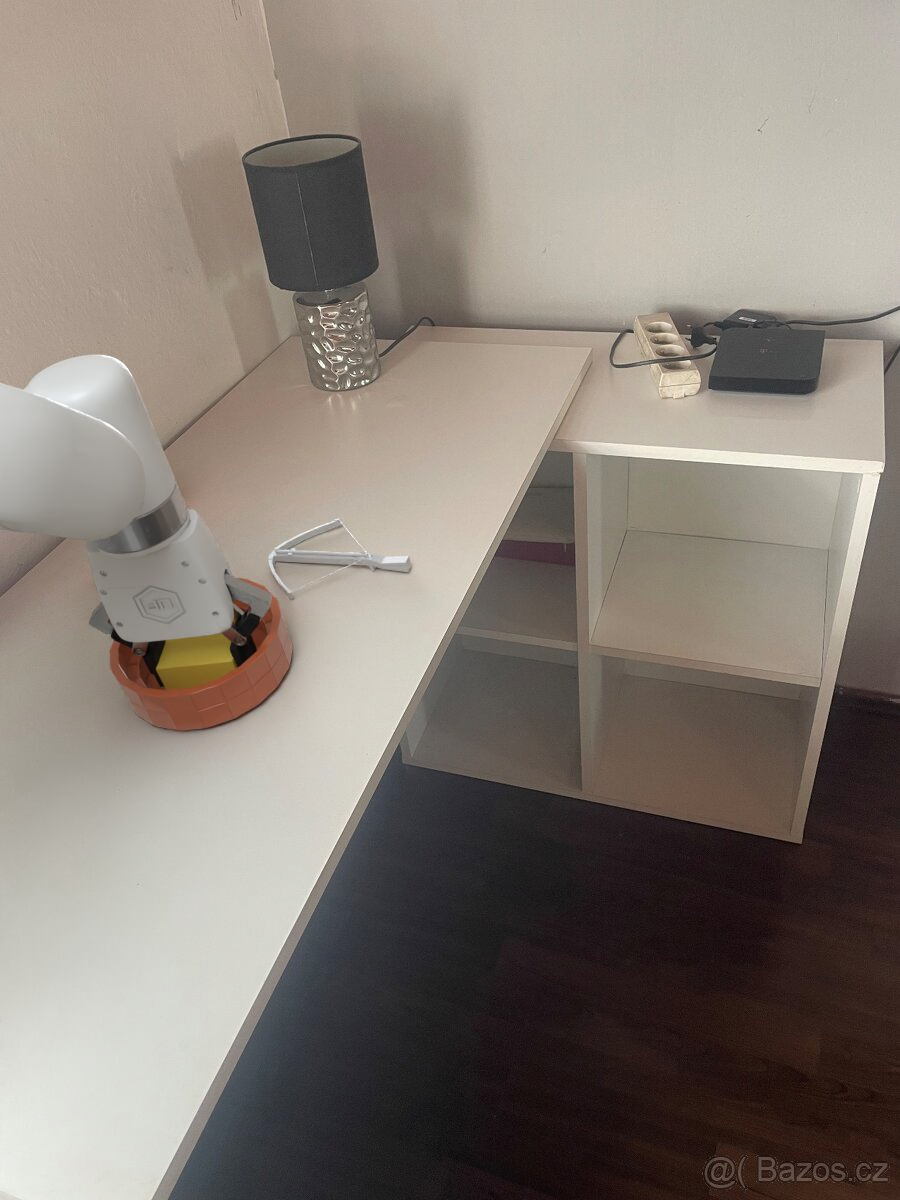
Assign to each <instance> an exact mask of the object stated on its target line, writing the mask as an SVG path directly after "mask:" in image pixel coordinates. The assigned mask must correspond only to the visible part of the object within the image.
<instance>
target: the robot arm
mask: <svg viewBox="0 0 900 1200" xmlns="http://www.w3.org/2000/svg"><path fill="white" fill-rule="evenodd" d="M151 419H152V418H151V416H150V414H149V412H148V409H147V406H146V404H145V403H144V399H143V397H142V395H141V392H140V389H139V387H138V385H137V383H136V381H135V378H134V376H133V375H132V372H131V371H130V370H129V368H128V367H127V366H126V365H125V363H123V362H122V361H120V360H119V359H117V358H115V357H113V356H110V355H106V354H100V353H99V354H98V353H96V354H94V353H93V354H85V355H79V356H74V357H69V358H66V359H63V360H60V361H58V362H56V363H54V364H51V365H50V366H48V367H46V368H43V369H42V370H40V371H39V372H38V373H36V374H35V375H34V376H33V377H32V378H31V379H30V381H29V383H28V384H27V385H26V387H24V388H19V387H16V386H13V385H9V384H7V383H3V382H0V530H2V531H10V532H18V533H29V534H37V535H44V536H50V537H51V536H52V537H53V536H54V537H57V538H58V537H59V538H64V539H72V540H78V541H86V542H85V550H86V555H87V559H88V563H89V567H90V571H91V574H92V575H91V576H92V578H93V581H94V584H95V587H96V590H97V592H98V593H97V594H98V595H99V598H100V600H101V601H100V603H99V604H98V605H97V606H96V607H95V609H94V610H93V611H92V613H91V615H90V618H89V620H88V625H89V626H91V628H94V629H95V630H98V631H99V632H101V633H103V634H105V635H109V636H110V638H111V639H112V640H113V641H114V640H115V641H117V642H119V643H121V644H123V645H125V646H128V647H130V648H132V652H133V654H134V655H136V656H142V657H143V659H144V661H145V663H146V665H147V667H148V669H149V671H150V673H151V674H154V676H155V678H156V680H157V682H158V684H159V686H160V687H165V686H164V684H163V682H162V680H161V678H160V677H159V675H158V673H157V671H156V667H157V665H158V663H159V660H160V657H161V654H162V651H163V648H164V645H165V643H166V642H165V640H171V639H180V638H189V637H198V636H207V635H214V634H219V633H222V634H223V635H224V636H225V637H226V638H228V639H229V640H230V641H231V645H230V652H231V654H232V657H233V658H234V660H235V662H236V665H237V667H239V666H241V665H242V664H243V663H244V662H245V661H246V660H247V659H249V658H250V657H251V656H252V655H253V654H254V653H255V652H256V651H257V648H256V646H255V643H254V641H253V638H252V636H251V634H252V633H253V631H254V630H255V629H256V628H257V627H258V625H259V622H260V621H261V619H262V618H263V617H264V615H265V614H266V612H267V611H268V609H269V608H270V605H271V600H272V594H273V593H272V592H271V591H270V592H271V593H272V594H271V593H270V592H268V591H265V590H263V589H261V588H258V587H256V586H254V585H252V584H249V583H247V582H245V581H242V580H240V579H238V578H239V577H235V576H234V574H233V571H232V569H231V567H230V565H229V563H228V561H227V559H226V557H225V555H224V553H223V551H222V549H221V547H220V546H219V544H218V542H217V540H216V538H215V537H214V535H213V533H212V532H211V531H210V529H209V527H208V526H207V524H206V523H205V522H204V520H203V519H202V517H201V516H200V515H199V513H197V511H196V510H195V509H191V508H188V507H187V504H186V502H185V499H184V497H183V495H182V492H181V489H180V486H179V484H178V483H177V482H178V481H177V480H176V478H175V474H174V472H173V469H171V465H170V463H169V460H168V458H167V456H166V453H165V451H164V448H163V446H162V444H161V441H160V439H159V437H158V434H157V432H156V429H155V427H154V425H153V421H152V420H151ZM235 600H238V601H241V602H243V603H245V604H248V605H249V606H250V607H249V608H248V609H247V610H246V611H245V613H244V612H243V611H242V610H241V609H239V608H238V607H237V606H236V605H235V604H234V603H232V602H233V601H235ZM232 622H234V623H235V625H234V624H233V623H232Z"/></svg>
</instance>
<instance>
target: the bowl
mask: <svg viewBox="0 0 900 1200" xmlns="http://www.w3.org/2000/svg"><path fill="white" fill-rule="evenodd" d="M237 578H238V579H240V580H242V581H245V582H247V583H249V584H252V585H254V586H256V587H258V588H261V589H263V590H265V591H268V592H270V593H271V594H272V600H271V605H270V608H269V609H268V611H267V612H266V614H265V615H264V617H263V618H262V619H261V621H260V622H259V625H258V627H257V628H256V629H255V630H254V631H253V633H252V634H251V636H252V638H253V641H254V643H255V646H256V648H257V651H256V652H255V653H254V654H253V655H252V656H251V657H250V658H249V659H247V660H246V661H245V662H244V663H243V664H242V665H241V666H239V667H238V668H236V669H234V670H232V671H231V672H229V673H227V674H225V675H223V676H222V677H220V678H218V679H216V680H213V681H210V682H207V683H204V684H201V685H198V686H195V687H192V688H183V689H173V690H166V688H165V687H160V686H159V684H158V682H157V680H156V678H155V676H154V674H151V673H150V671H149V669H148V667H147V665H146V663H145V661H144V659H143V657H142V656H136V655H134V654H133V652H132V648H130V647H128V646H125V645H123V644H121V643H119V642H117V641H115V640H113V641H112V644H111V646H110V649H109V669H110V671H111V672H112V674H113V676H114V678H115V680H116V681H117V684H118V685H119V687H120V688H121V691H122V693H123V694H124V696H125V697H126V699H127V701H128V703H129V705H130V706H131V708H132V710H134V711H133V712H134V713H135V715H136V716H137V717H139V718H141V719H142V720H144V721H145V722H147V723H149V724H151V725H153V726H154V727H157V728H163V729H168V730H173V731H191V730H201V729H208V728H210V727H214V726H217V725H220V724H223V723H225V722H229V721H232V720H234V719H237V718H238V717H240V716H242V715H244V714H246V713H247V712H248V711H251V709H254V708H255V707H257V706H258V705H260V704H261V703H262V702H263V701H264V700H265V699H266V698H267V697H269V696H270V695H271V694H272V693H273V692H274V691H275V690H276V688H278V686H279V685H280V683H281V682H282V680H283V678H284V677H285V676H286V673H287V672H288V670H289V669H290V666H291V660H292V655H293V650H294V645H293V642H292V638H291V635H290V632H289V629H288V626H287V623H286V620H285V617H284V615H283V612H282V609H281V606H280V603H279V600H278V598H277V597H276V596H275V595H274V594H273V593H272V592H271V590H269V589H268V588H267V587H266V586H265V585H263V584H261V583H259V582H256V581H254V580H251V579H249V578H244V577H237ZM232 603H234V604H235V605H236V606H237V607H238V608H239V609H241V610H242V611H243V612H244V613H245V611H246V610H247V609H248V608H249V607H250V606H249V605H248V604H245V603H243V602H241V601H238V600H235V601H233V602H232ZM232 623H233V624H234V625H235V623H234V622H232ZM165 641H166V640H165Z"/></svg>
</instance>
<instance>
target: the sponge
mask: <svg viewBox="0 0 900 1200" xmlns="http://www.w3.org/2000/svg"><path fill="white" fill-rule="evenodd" d="M165 642H166V643H165V645H164V648H163V651H162V654H161V657H160V660H159V663H158V665H157V667H156V671H157V673H158V675H159V677H160V678H161V680H162V682H163V684H164V686H165V688H166V690H173V689H183V688H192V687H195V686H198V685H201V684H204V683H207V682H210V681H213V680H216V679H218V678H220V677H222V676H223V675H225V674H227V673H229V672H231V671H232V670H234V669H236V668H238V667H237V665H236V662H235V660H234V658H233V657H232V654H231V652H230V645H231V641H230V640H229V639H228V638H226V637H225V636H224V635H223V634H222V633H219V634H214V635H207V636H198V637H189V638H180V639H171V640H166V641H165Z"/></svg>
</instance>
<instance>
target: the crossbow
mask: <svg viewBox="0 0 900 1200" xmlns="http://www.w3.org/2000/svg"><path fill="white" fill-rule="evenodd" d="M340 526H343V527H344V528H345V530H346V531H347V532H348V533H349V535H350V536H351V537H352V539H354V541H355V542H356V543H357V544H358V545H359V546H360V548H361V549H362V550H363V552H362V551H361V552H357V551H348V552H347V551H346V552H345V551H322V550H321V551H320V550H316V551H315V550H300V549H299V550H297V548H295V547H294V546H296V545H298V544H300V543H301V542H304V541H306V540H308V539H310V538H313V537H315V536H317V535H319V534H321V533H324V532H327V531H329V530H332V529H335V528H338V527H340ZM276 562H280V563H281V562H285V563H307V564H326V565H327V564H328V565H346V566H344V567H342V568H340V569H337V570H335V571H333V572H331V573H329V574H326V575H324V576H322V577H319V578H318V579H316V580H313V581H311V582H309V583H307V584H304V585H303V586H299V587H297V588H296V589H294V590H291V589H289V588H288V587H287V586H286V585H285V584H284V583H283V581H282V580H281V578H280V576H279V575H278V574H277V573H276V566H275V565H276ZM268 566H269V568H270V571H271V573H272V576H273V578H274V580H275V582H276V583H277V584H278V586H279V587H280V588H281V590H282V591H283V592H284V593H285V594H286V595H287V596H288V598H289V599H290V600H294V599H295V598H294V595H293V593H294V592H297V591H298V590H301V589H303V588H305V587H307V586H309V585H312V584H313V583H316V582H318V581H320V580H322V579H324V578H327V577H330V576H331V575H333V574H335V573H338V572H340V571H343V570H344V569H347V568H349V567H351V566H367V567H368V568H370V570H371V572H373V573H374V572H375V571H376V569H377V568H379V569H381V570H387V571H396V572H404V573H409V572H410V569H411V568H412V561H411V558H410V555H395V556H385V555H380V554H378V553H371V552H367V551H366V550H365V548H364V547H363V546H362V545H361V544H360V543H359V541H358V540H357V539H356V538H355V536H354V535H353V534H352V533H351V532H350V531H349V529H348V528H347V527H346V526H345V524H344V523H343V522H342V520H341V518H335V519H333V520H332V521H329V522H326V523H324V524H321V525H318V526H316V527H313V528H311V529H309V530H307V531H304V532H301V533H299V534H297V535H295V536H293V537H291V538H289V539H287V540H285V541H284V542H282V543H281V544H279V545H278V546H276V547H274V548H273V550H272V551H271V553H270V554H269V555H268Z"/></svg>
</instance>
